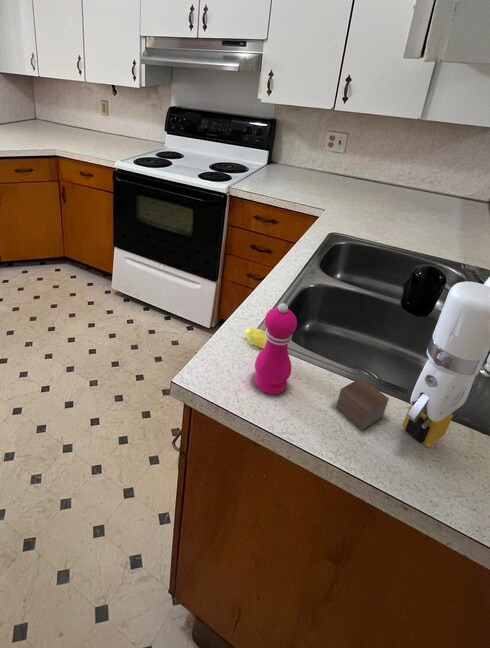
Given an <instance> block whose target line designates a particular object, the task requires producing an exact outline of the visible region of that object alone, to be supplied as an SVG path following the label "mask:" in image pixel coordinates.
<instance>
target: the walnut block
mask: <svg viewBox="0 0 490 648" xmlns="http://www.w3.org/2000/svg"><path fill="white" fill-rule="evenodd" d="M389 399H390V398H389V397H388V396H386V395H385V394H384V393H383V392H382V391H380V390H379V389H377V388H376V387H375V386H374V385H373V384H371V383H369V382H368V381H367V380H366V379H364V377H359V378H358V379H356V380H354V381H352V382H350V383H349V384H346V385H345V386H343V387H341V388H340V391H339V394H338V398H337V402H336V405H335V407H336V409H337V410H338V411H340V413H342V414H343V415H344V416H345V417H346V418H347V419H348V420H350V421H351V422H352V423H353V424H354V425H355V426H356V427H357V428H359V429H360V430H361V431H363V430H365V429H367V428H369V427H370V426H371V425H373V424H375V423H376V422H378V421H379V420H381V419H382V418H383V417H384V415H385V412H386V409H387V405H388V402H389Z"/></svg>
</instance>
